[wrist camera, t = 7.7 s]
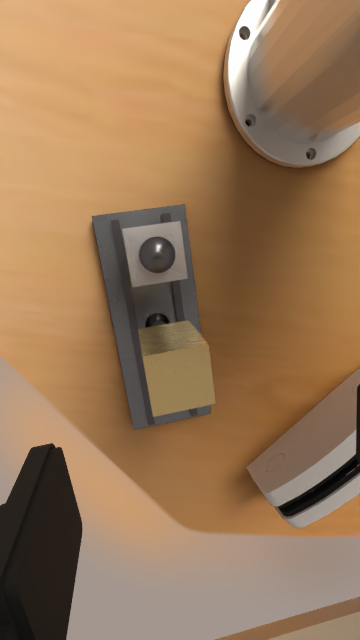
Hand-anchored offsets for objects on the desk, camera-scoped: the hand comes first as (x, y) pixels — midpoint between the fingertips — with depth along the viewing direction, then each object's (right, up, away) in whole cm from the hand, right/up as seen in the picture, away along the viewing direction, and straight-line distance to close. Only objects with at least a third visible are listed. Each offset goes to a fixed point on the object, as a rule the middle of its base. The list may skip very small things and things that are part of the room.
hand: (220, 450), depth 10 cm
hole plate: (-3, +4, +18) cm, 18 cm away
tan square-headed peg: (-3, +3, +16) cm, 17 cm away
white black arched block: (+12, -6, +23) cm, 27 cm away
